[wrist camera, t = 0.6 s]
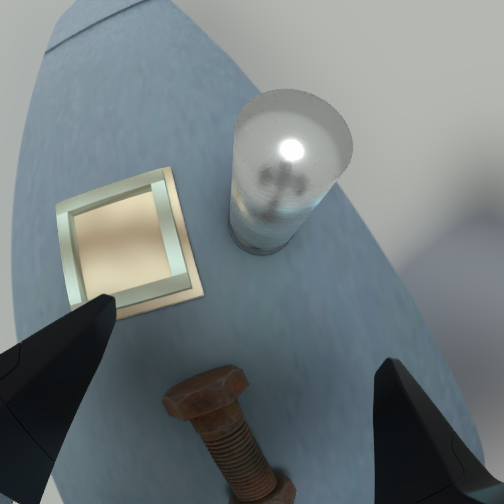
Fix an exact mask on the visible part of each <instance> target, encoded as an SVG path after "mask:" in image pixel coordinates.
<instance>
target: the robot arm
mask: <svg viewBox="0 0 504 504" xmlns="http://www.w3.org/2000/svg"><path fill="white" fill-rule="evenodd" d="M116 318H117V311H116V300H115V297H114V296H111V295H108V294H101V295H99V296H97V297H95V298H94V299H92V300H90V301H88V302H87V303H85V304H83V305H82V306H80V307H78V308H76V309H75V310H73V311H71V312H70V313H68V314H66V315H65V316H63V317H61V318H59V319H58V320H56V321H54V322H53V323H51V324H49V325H48V326H46V327H44V328H43V329H41V330H39V331H38V332H36V333H34V334H33V335H31V336H29V337H28V338H26V339H25V340H23V341H21V343H18V344H16V345H15V346H13V347H12V348H10V349H8V350H6V351H5V352H3V353H1V354H0V504H12V503H13V501H15V502H17V503H19V504H40V501H41V498H42V495H43V493H44V490H45V487H46V484H47V482H48V479H49V477H50V474H51V472H52V469H53V466H54V464H55V463H54V462H55V461H56V459H57V456H58V454H59V451H60V449H61V446H62V444H63V442H64V439H65V437H66V435H67V432H68V430H69V428H70V426H71V423H72V421H73V419H74V417H75V414H76V412H77V410H78V408H79V406H80V403H81V401H82V399H83V397H84V395H85V393H86V391H87V388H88V386H89V384H90V382H91V380H92V378H93V376H94V374H95V372H96V370H97V368H98V366H99V364H100V362H101V359H102V357H103V354H104V351H105V349H106V346H107V343H108V341H109V338H110V335H111V333H112V330H113V327H114V325H115V322H116ZM373 430H374V458H375V503H374V504H504V483H503V482H501V481H499V480H497V479H495V478H494V477H493V476H492V475H491V474H490V473H489V472H488V471H487V469H486V468H485V467H484V466H483V465H482V464H481V462H480V461H479V460H478V459H477V458H476V457H475V456H474V454H473V453H472V452H471V451H470V450H469V449H468V447H467V446H466V445H465V444H464V442H463V441H462V440H461V438H460V437H459V436H458V434H457V433H456V432H455V431H453V428H452V426H451V425H450V424H449V423H448V421H447V420H446V419H445V417H444V416H443V415H442V413H441V412H440V411H439V409H438V408H437V407H436V406H435V404H434V403H433V402H432V400H431V399H430V398H429V397H428V395H427V394H426V393H425V391H424V390H423V389H422V388H421V386H420V385H419V384H418V383H417V381H416V380H415V379H414V377H413V376H412V375H411V374H410V372H409V371H408V370H407V369H406V367H405V366H404V365H403V364H402V363H401V361H400V360H399V359H397V358H387V359H386V360H385V361H384V362H383V363H382V365H381V366H380V367H379V369H378V370H377V371H376V373H375V377H374V401H373Z"/></svg>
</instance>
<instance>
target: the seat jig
mask: <svg viewBox="0 0 504 504" xmlns="http://www.w3.org/2000/svg"><path fill="white" fill-rule="evenodd" d="M55 205H56V217H57V227H58V236H59V244H60V251H61V258H62V264H63V270H64V276H65V282H66V287H67V293H68V298H69V302H70V307H71V311H73V310H75V309H76V308H78V307H80V306H82V305H83V304H85V303H87V302H88V301H90V300H92V299H94V298H95V297H97V296H99V295H101V294H108V295H111V296H114V297H115V300H116V311H117V318H116V320H119V319H123V318H127V317H131V316H134V315H138V314H142V313H145V312H149V311H153V310H156V309H160V308H164V307H167V306H171V305H174V304H178V303H182V302H185V301H189V300H192V299H196V298H199V297H203V296H205V295H204V291H203V288H202V284H201V281H200V277H199V274H198V270H197V267H196V263H195V259H194V256H193V252H192V248H191V245H190V241H189V237H188V233H187V229H186V226H185V222H184V218H183V214H182V210H181V206H180V202H179V198H178V194H177V190H176V186H175V181H174V177H173V173H172V170H171V167H170V166H169V167H165V168H160V169H156V170H153V171H150V172H146V173H143V174H140V175H137V176H133V177H130V178H127V179H124V180H121V181H118V182H115V183H112V184H109V185H106V186H103V187H100V188H97V189H94V190H92V191H89V192H86V193H83V194H81V195H78V196H75V197H72V198H70V199H67V200H64V201H62V202H59V203H57V204H55Z"/></svg>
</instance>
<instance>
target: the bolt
mask: <svg viewBox="0 0 504 504" xmlns="http://www.w3.org/2000/svg"><path fill="white" fill-rule="evenodd" d="M248 385H249V383H248V381H247V379H246V377H245V374H244V372H243V370H242V369H240V368H238V367H235V366H232V365H228V366H224V367H220V368H216V369H213V370H209V371H207V372H204V373H202V374H199V375H196V376H194V377H192V378H190V379H188V380H185V381H183V382H182V383H180V384H178V385H176V386H174V387H172V388H171V389H169V390H168V391H167V393H166V394H165V395H164V397H163V399H162V403H163V405H164V407H165V409H166V411H167V413H168V415H170V416H172V417H175V418H178V419H181V420H183V421H187V420H189V419H190V421H191V423H192V425H193V427H194V429H195V430H196V432H197V433H199V435H200V436H201V438H202V440H203V442H204V443H205V445H206V447H207V448H208V451H209V452H210V454H211V455H212V458H213V459H214V461H215V463H216V464H217V466H218V468H219V470H220V471H221V472H222V474H223V476H224V477H225V479H226V480H227V482H228V483H229V485H230V487H231V488H232V490H233V492H232V494H231V497H230V500H229V503H228V504H293V502H294V499H295V496H296V488H295V486H294V484H293V482H292V481H291V480H290V479H289V478H287V477H285V476H283V475H281V474H278V473H273V472H272V470H271V468H270V467H269V465H268V463H267V461H266V459H265V458H264V456H263V454H262V452H261V450H260V448H259V447H258V444H257V443H256V441H255V439H254V437H253V436H252V433H251V432H250V429H249V428H248V426H247V424H246V421H245V420H244V417H243V415H242V411H241V409H240V406H239V404H238V402H237V400H236V397H237V396H238V395H239V394H240V393H241V392H242V391H243V390H244V389H245V388H246V387H247V386H248Z"/></svg>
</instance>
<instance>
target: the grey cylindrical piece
mask: <svg viewBox="0 0 504 504" xmlns="http://www.w3.org/2000/svg"><path fill="white" fill-rule="evenodd" d="M352 151H353V143H352V136H351V133H350V130H349V128H348V125H347V124H346V122H345V120H344V119H343V118H342V116H341V115H340V114H339V112H338V111H337V110H336V109H335V108H334V107H332V106H331V105H330V104H329V103H327V102H326V101H324V100H323V99H321V98H319V97H317V96H315V95H313V94H310V93H307V92H304V91H299V90H293V89H277V90H272V91H268V92H265V93H262V94H260V95H258V96H256V97H254V98H253V99H251V100H250V101H249V102H248V103H247V104H246V105H245V106H244V107H243V108H242V110H241V111H240V113H239V115H238V117H237V120H236V124H235V135H234V150H233V166H232V183H231V200H230V210H229V231H230V234H231V237H232V238H233V240H234V242H235V243H236V244H237V245H238V246H239V247H240V248H241V249H242V250H244V251H246V252H248V253H250V254H253V255H258V256H265V255H271V254H274V253H276V252H278V251H280V250H281V249H282V248H284V247H285V246H286V244H287V243H288V242H289V241H290V240H291V238H292V237H293V236H294V234H295V232H296V231H297V230H298V228H299V227H300V226H301V225H302V224H303V222H304V221H305V220H306V219H307V217H308V216H309V215H310V214H311V212H312V211H313V210H314V209H315V207H316V206H317V205H318V204H319V202H320V201H321V200H322V199H323V197H324V196H325V195H326V194H327V192H328V191H329V190H330V189H331V187H332V186H333V185H334V183H335V182H336V181H337V180H338V178H339V177H340V176H341V175H342V173H343V172H344V171H345V170H346V168H347V166H348V165H349V163H350V160H351V157H352Z"/></svg>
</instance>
